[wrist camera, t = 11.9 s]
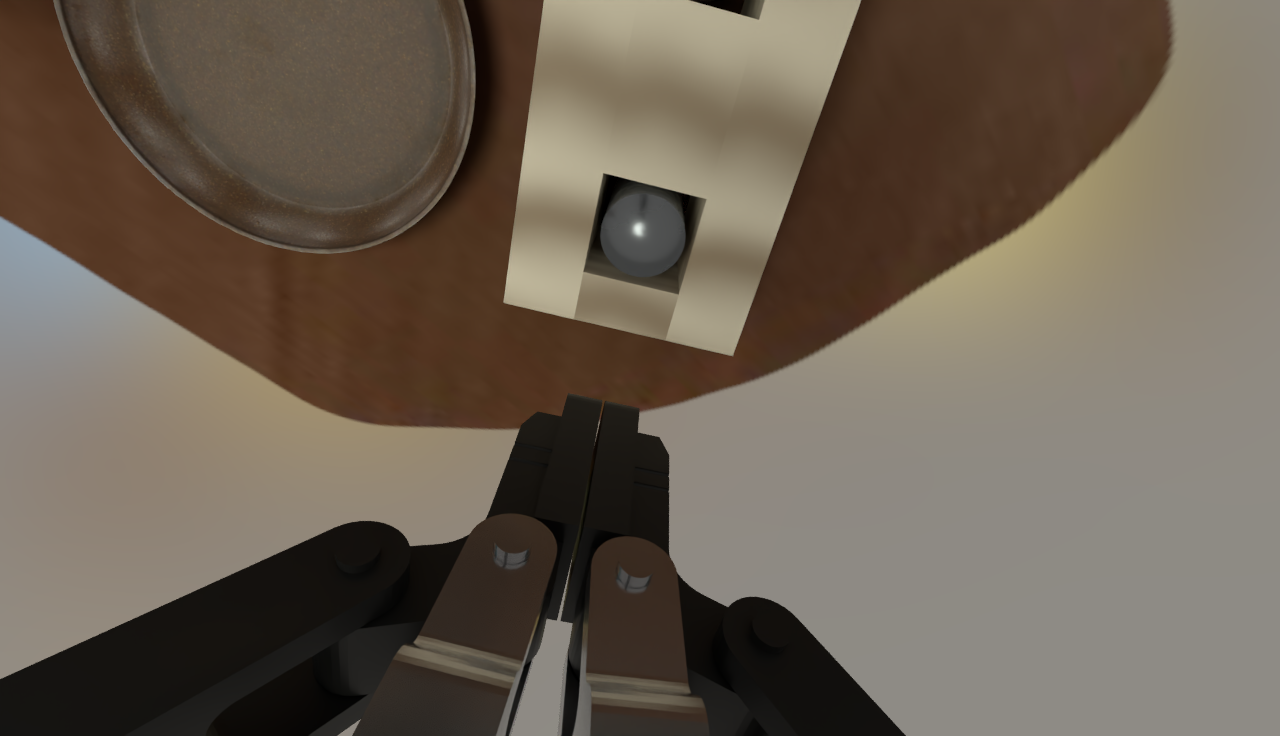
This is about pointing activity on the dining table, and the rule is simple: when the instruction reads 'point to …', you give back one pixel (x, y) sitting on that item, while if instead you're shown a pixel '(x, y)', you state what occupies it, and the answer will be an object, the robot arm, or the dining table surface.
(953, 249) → the dining table surface
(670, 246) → the outer peg
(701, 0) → the inner peg
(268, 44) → the plant saucer
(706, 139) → the birch block
